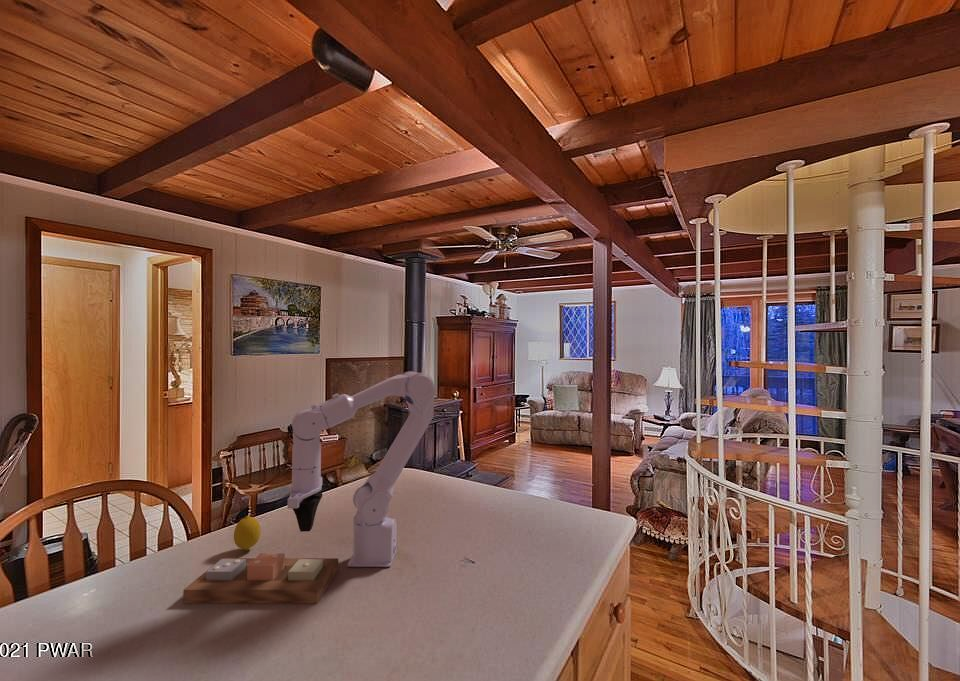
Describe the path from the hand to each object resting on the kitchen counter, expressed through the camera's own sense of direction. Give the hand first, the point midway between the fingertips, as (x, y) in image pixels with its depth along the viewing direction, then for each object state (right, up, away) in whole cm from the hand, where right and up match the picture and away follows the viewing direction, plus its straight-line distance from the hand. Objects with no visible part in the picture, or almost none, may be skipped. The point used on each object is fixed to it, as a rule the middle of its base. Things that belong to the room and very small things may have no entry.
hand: (305, 530), depth 91 cm
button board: (-6, -9, -6) cm, 12 cm away
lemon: (-18, -9, +9) cm, 22 cm away
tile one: (+2, -8, -6) cm, 10 cm away
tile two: (-6, -7, -6) cm, 11 cm away
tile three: (-14, -8, -6) cm, 17 cm away
